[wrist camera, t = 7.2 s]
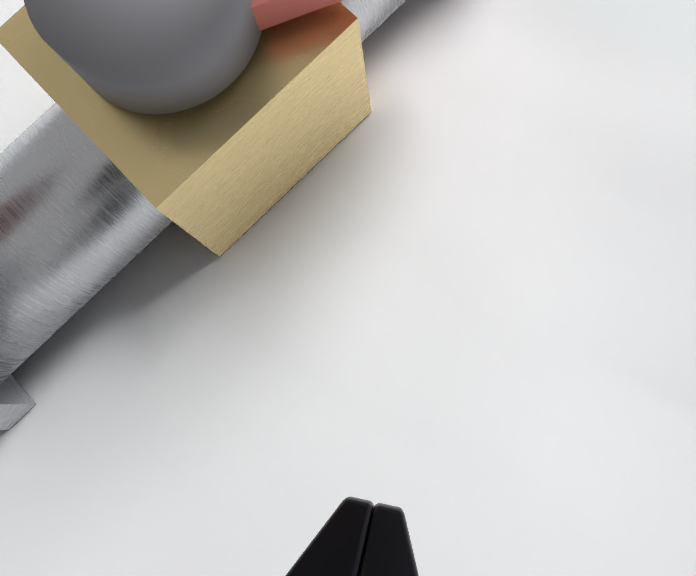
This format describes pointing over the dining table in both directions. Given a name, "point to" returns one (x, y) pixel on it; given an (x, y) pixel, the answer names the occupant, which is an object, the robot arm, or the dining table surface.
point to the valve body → (160, 167)
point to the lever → (160, 45)
